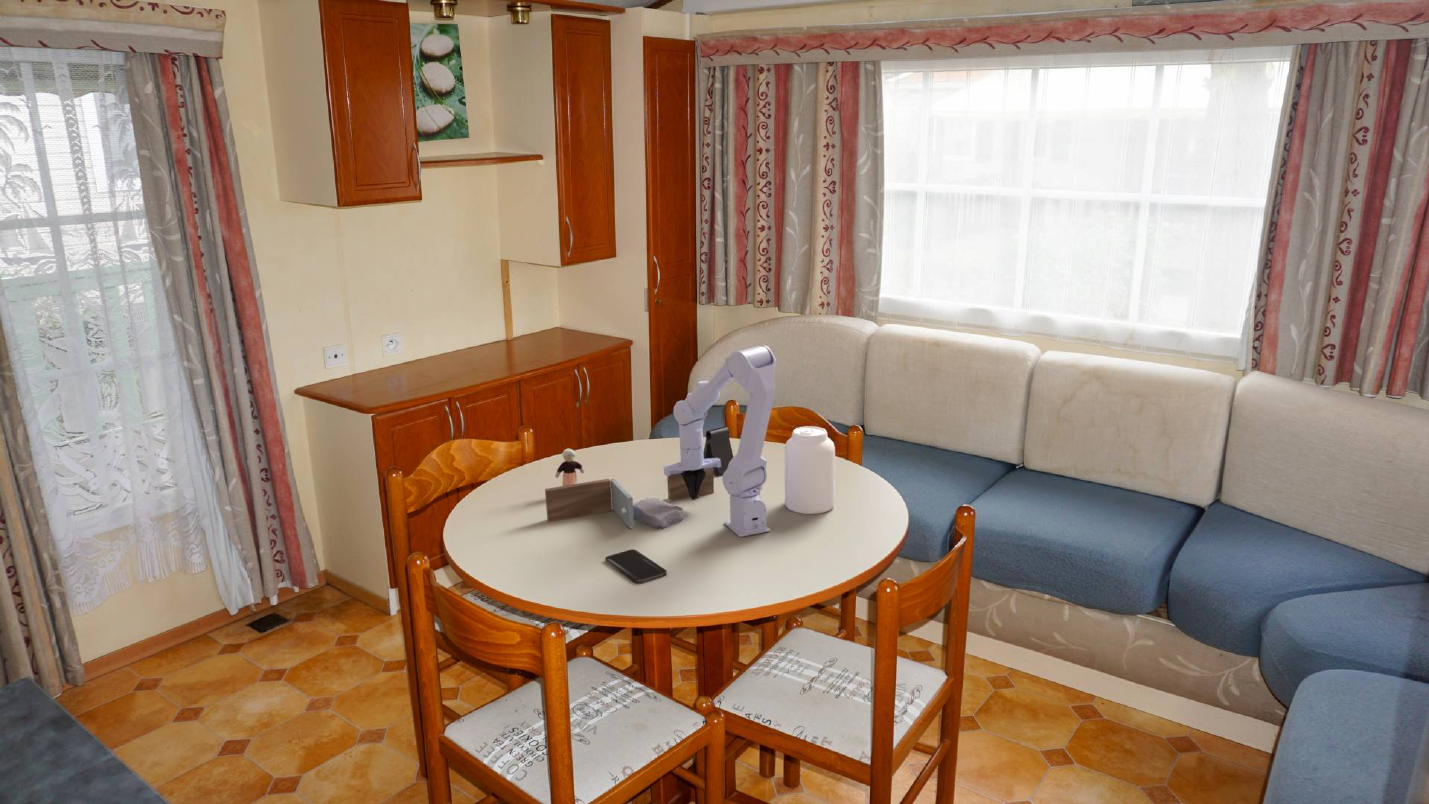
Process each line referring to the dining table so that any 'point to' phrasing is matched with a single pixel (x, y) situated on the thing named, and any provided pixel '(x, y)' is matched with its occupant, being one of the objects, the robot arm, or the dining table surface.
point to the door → (622, 503)
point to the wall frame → (607, 496)
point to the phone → (635, 566)
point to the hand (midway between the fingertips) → (693, 498)
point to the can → (809, 471)
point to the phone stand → (718, 448)
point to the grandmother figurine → (569, 468)
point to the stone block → (657, 513)
